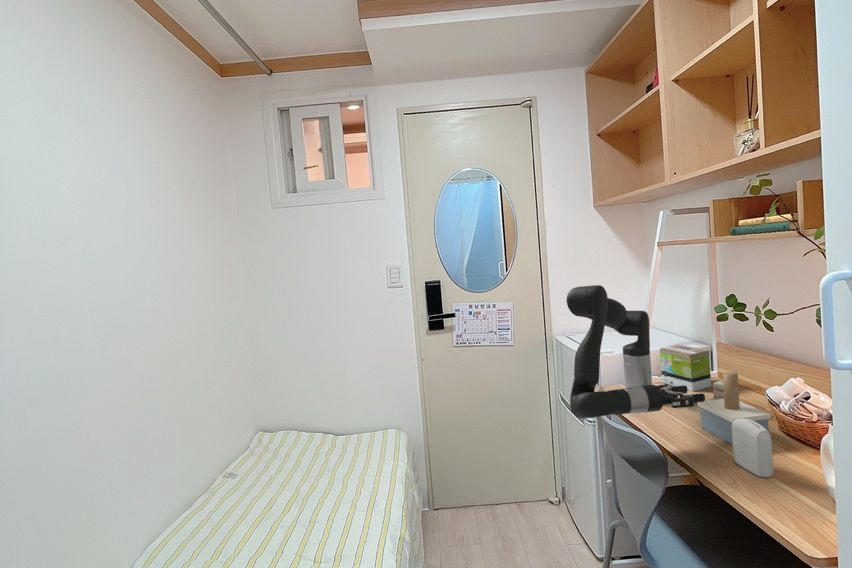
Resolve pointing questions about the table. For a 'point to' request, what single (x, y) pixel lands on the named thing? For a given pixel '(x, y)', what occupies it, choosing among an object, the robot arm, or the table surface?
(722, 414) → the lid
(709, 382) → the tea box
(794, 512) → the table surface
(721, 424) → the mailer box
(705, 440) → the table surface
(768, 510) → the table surface
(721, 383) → the skincare box
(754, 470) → the photo printer
